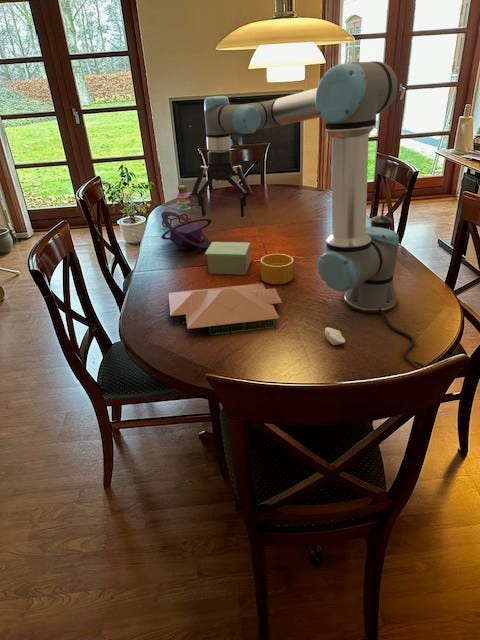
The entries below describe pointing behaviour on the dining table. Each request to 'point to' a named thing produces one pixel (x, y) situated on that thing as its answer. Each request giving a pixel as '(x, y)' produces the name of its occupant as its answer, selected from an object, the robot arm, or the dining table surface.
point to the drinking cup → (381, 220)
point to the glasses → (179, 220)
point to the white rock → (334, 336)
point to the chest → (229, 264)
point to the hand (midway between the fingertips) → (223, 215)
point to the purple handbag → (185, 226)
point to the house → (225, 306)
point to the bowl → (277, 268)
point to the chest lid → (228, 249)
